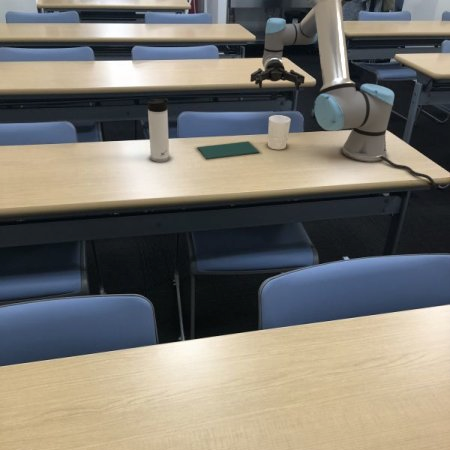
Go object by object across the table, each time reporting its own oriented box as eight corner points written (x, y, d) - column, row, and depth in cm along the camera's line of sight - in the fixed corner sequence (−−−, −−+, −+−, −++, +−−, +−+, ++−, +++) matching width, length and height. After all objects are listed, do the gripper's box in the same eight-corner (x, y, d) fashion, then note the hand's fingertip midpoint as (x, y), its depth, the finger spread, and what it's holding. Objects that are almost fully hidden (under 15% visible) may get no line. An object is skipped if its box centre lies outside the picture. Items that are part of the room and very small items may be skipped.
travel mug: (167, 163, 164) (165, 102, 152) (148, 161, 165) (144, 100, 152) (172, 155, 169) (170, 96, 157) (153, 154, 170) (150, 94, 157)
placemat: (259, 153, 174) (259, 151, 174) (206, 159, 168) (206, 158, 168) (248, 142, 181) (248, 141, 181) (197, 148, 175) (197, 147, 175)
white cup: (286, 151, 176) (289, 123, 170) (264, 149, 177) (267, 121, 171) (288, 143, 182) (291, 116, 176) (267, 141, 183) (270, 114, 177)
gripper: (304, 80, 194) (312, 97, 178) (242, 77, 193) (244, 94, 177) (307, 59, 189) (315, 75, 173) (243, 57, 188) (245, 72, 172)
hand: (279, 85), depth 175 cm, fingers open, 13 cm apart
